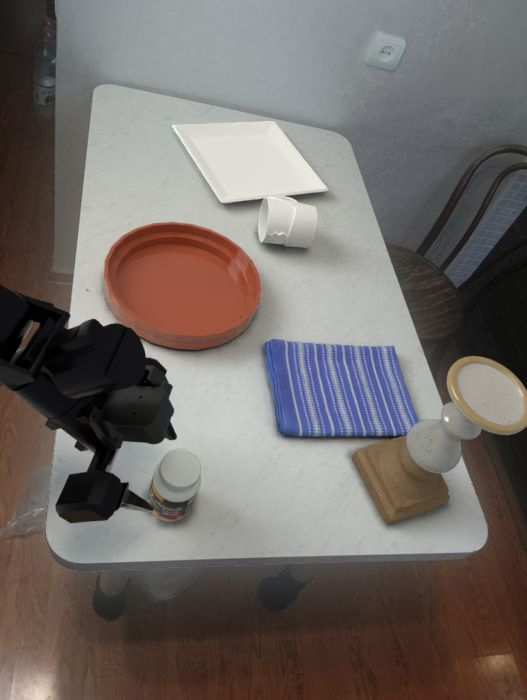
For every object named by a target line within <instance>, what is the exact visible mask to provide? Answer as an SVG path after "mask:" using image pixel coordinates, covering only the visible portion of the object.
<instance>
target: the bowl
mask: <svg viewBox="0 0 527 700" xmlns="http://www.w3.org/2000/svg"><path fill="white" fill-rule="evenodd" d="M253 261H254V260H252V259H251V257H250V256H249V255H248V254H247V253H246V252H245V250H244V249H243V248H242V247H241V246H240V245H238V244H236V242H234V241H233V240H231V239H230V238H228V237H227V236H225V235H223V234H221V233H219V232H217V231H215V230H213V229H210V228H208V227H204V226H200V225H196V224H193V223H186V222H177V221H166V222H165V221H164V222H154V223H150V224H145V225H142V226H138V227H135V228H134V229H131V230H130V231H128V232H126V233H124V234H123V235H122V236H121V237H119V239H117V240H116V241H115V242H114V244H112V245H111V247H110V249H109V250H108V253H107V255H106V257H105V259H104V266H103V267H104V268H103V294H104V297H105V299H106V303H107V306H108V307H109V309H110V310H111V312H112V313H113V314H114V316H115V317H116V319H117V320H118V321H119V322H120V324H122V325H124V326H126V327H130V328H131V329H133V330H134V331H135V333H136V334H137V335H138V336H139V338H142V339H144V340H146V341H149V342H150V343H152V344H155V345H159V346H163V347H166V348H171V349H176V350H194V351H195V350H197V351H198V350H203V349H210V348H215V347H216V348H217V347H219V346H221V345H224V344H226V343H229V342H230V341H232V340H234V339H236V338H237V337H238V336H240V335H241V334H242V333H243V332H244V331H245V330H247V328H248V327H249V325H250V324H251V322H252V320H253V319H254V317H255V315H256V312H257V308H258V307H259V304H260V300H261V295H262V289H263V288H262V282H261V277H260V273H259V270H258V269H257V267H256V265H255V263H254V262H253Z"/></svg>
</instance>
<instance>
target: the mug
mask: <svg viewBox="0 0 527 700" xmlns="http://www.w3.org/2000/svg"><path fill="white" fill-rule="evenodd" d="M318 217H319V214H318V209H317V207H316V205H311V204H307V203H302V202H299V201H298V200H297V199H295V198H293V197H290V196H275V197H265V198H264V199H262V201H261V204H260V208H259V214H258V223H257V225H258V227H257V230H258V231H257V233H258V239H259V242H260V243H262V244H275V245H283V247H290V248H303V249H308V248H310V247H311V246H312V245H313V243H314V240H315V237H316V234H317V229H318V221H319V220H318V219H319V218H318Z"/></svg>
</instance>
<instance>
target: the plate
mask: <svg viewBox="0 0 527 700" xmlns="http://www.w3.org/2000/svg"><path fill="white" fill-rule="evenodd" d="M171 127H172V129H173V130H174V132H175V133H176V135H177V136H178V138H179V140H180V142H181V143H182V144H183V146H184V148H185V149H186V150H187V152H188V154H189V155H190V157H191V158H192V160H193V162H194V163H195V165H196V167H197V168H198V169H199V171H200V172H201V174H202V176H203V177H204V179H205V180H206V182H207V184H208V185H209V186H210V188H211V190H212V191H213V193H214V195H215V196H216V197H217V199H218V200H219V202H220V203H222V204H230V203H238V202H248V201H254V200H255V201H256V200H263V199H264V198H265V197H275V196H285V197H290V196H291V197H292V196H298V195H299V196H300V195H308V194H315V193H325V192H326V193H327V192H329V190H330V189H329V188H328V187H327V186H326V184H325V183H324V182H323V180H322V179H321V178H320V177H319V175H318V174H317V173H316V172H315V170H314V169H313V168H312V167H311V165H310V164H309V163H308V161H307V160H306V158H304V157H303V155H302V153H301V152H299V150H298V148H296V146H295V145H294V143H292V141H291V140H290V139H289V137H288V136H287V135H286V134H285V133H284V131H283V130H282V129H281V127H280V126H279V125H278V124H277V123H276V121H274V120H259V121H256V120H255V121H236V122H233V121H232V122H207V123H206V122H205V123H184V124H183V123H182V124H172V125H171Z"/></svg>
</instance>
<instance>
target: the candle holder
mask: <svg viewBox="0 0 527 700" xmlns="http://www.w3.org/2000/svg"><path fill="white" fill-rule="evenodd" d="M446 387H447V391H448V395H449V397H450V399H451V401H448V402H447V403H445V404H444V405H443V406H442V408H441V412H440V417H441V418H439V419H437V418H428V419H423V420H420V421H418V423H416V424H415V425H413V426H412V427H411V428H410V430H409V431H408V433H407V435H405V436H397V437H393V438H391V439H387V440H383V441H381V442H377V443H373V444H370V445H367V446H364V447H361V448H359V449H357V450H355V451H354V453H353V454H352V455H351V459H352V461H353V463H354V466H355V468H356V470H357V472H358V474H359V476H360V477H361V479H362V482H363V484H364V485H365V488H366V490H367V492H368V494H369V495H370V497H371V499H372V501H373V503H374V506H375V507H376V510H377V511H378V513H379V515H380V517H381V518H382V520H383V522H384V523H385V525H392V524H395V523H398V522H400V521H404V520H407V519H410V518H412V517H415V516H417V515H420V514H423V513H425V512H428V511H431V510H433V509H436V508H438V507H441V506H443V505H445V504H446V503H448V501H450V500H451V495H450V494H449V492H450V490H449V487H448V485H447V483H446V480H445V478H444V476H443V474H445V473H448V472H451V471H452V470H453V469H454V468H456V467H457V465H458V464H459V462H460V461H461V458H462V453H463V442H462V441H463V440H465V441H470V440H473V439H476V438H477V437H479V436H480V434H481V433H482V430H483V431H485V432H489V433H491V434H493V435H494V434H495V435H500V436H510V435H516V434H517V433H519V432H522V431H523V430H524V429H525V428H527V389H526V387H525V386H524V384H523V383H522V381H521V380H520V379H519V378H518V377H517V375H515V374H514V373H513V372H512V371H511V370H510V369H509V368H507V367H506V366H504V365H503V364H501V363H499V362H497V361H496V360H493V359H491V358H487V357H483V356H479V355H469V356H464V357H460V358H458V360H456V361H455V362H454V363H453V364H452V365H450V368H449V369H448V373H447V375H446Z"/></svg>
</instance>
